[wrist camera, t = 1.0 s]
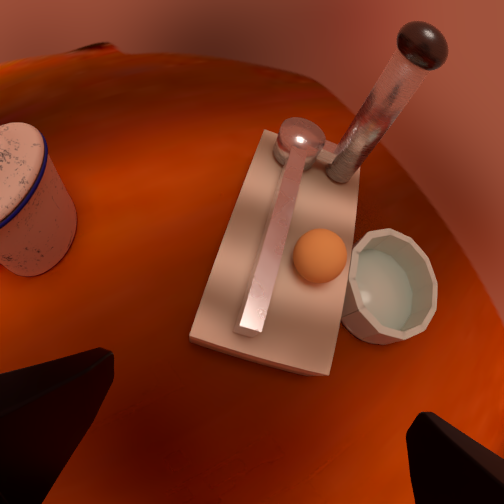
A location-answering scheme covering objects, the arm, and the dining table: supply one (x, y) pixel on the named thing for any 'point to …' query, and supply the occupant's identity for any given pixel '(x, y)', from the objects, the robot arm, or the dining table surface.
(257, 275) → the lever
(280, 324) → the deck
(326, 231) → the ball
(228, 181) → the dining table surface
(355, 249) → the small white bowl
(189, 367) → the dining table surface
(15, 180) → the teacup with lid
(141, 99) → the dining table surface
